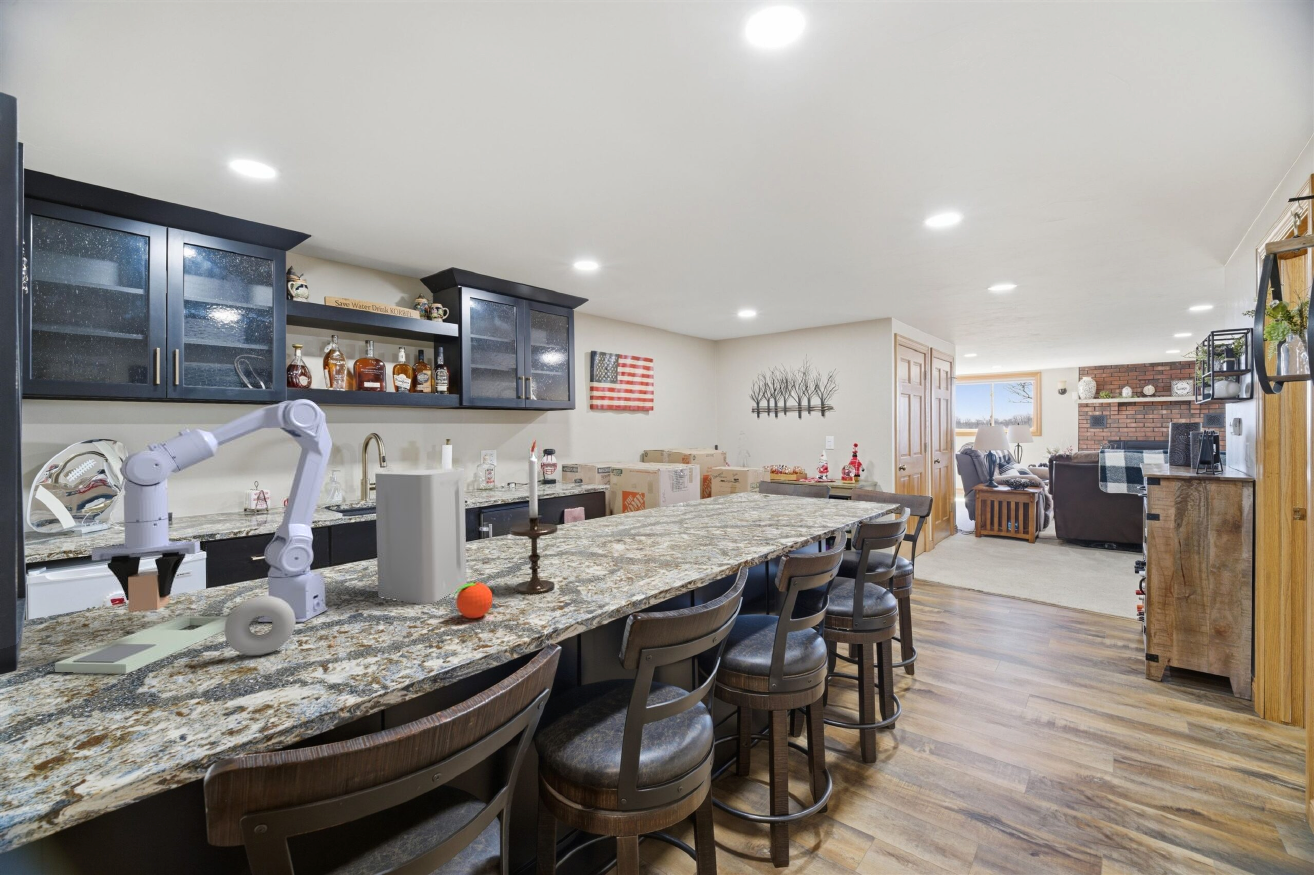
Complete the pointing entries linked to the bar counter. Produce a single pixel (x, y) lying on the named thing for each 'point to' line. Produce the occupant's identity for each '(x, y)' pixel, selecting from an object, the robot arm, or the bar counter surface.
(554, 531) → the candlestick
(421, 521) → the grey storage bin
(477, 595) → the clementine
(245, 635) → the donut
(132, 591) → the terracotta block
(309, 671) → the bar counter surface
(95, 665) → the pocket board
